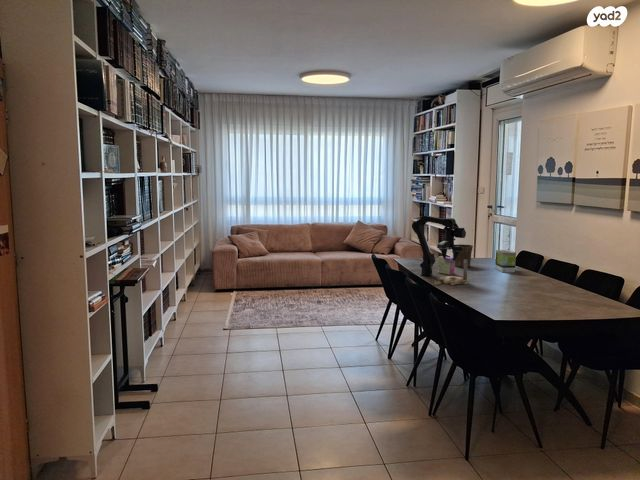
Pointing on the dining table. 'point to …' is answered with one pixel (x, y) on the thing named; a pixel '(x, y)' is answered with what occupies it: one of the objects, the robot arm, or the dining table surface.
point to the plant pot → (463, 255)
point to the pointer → (437, 282)
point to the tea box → (505, 260)
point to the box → (446, 265)
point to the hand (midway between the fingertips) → (449, 259)
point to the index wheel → (456, 280)
